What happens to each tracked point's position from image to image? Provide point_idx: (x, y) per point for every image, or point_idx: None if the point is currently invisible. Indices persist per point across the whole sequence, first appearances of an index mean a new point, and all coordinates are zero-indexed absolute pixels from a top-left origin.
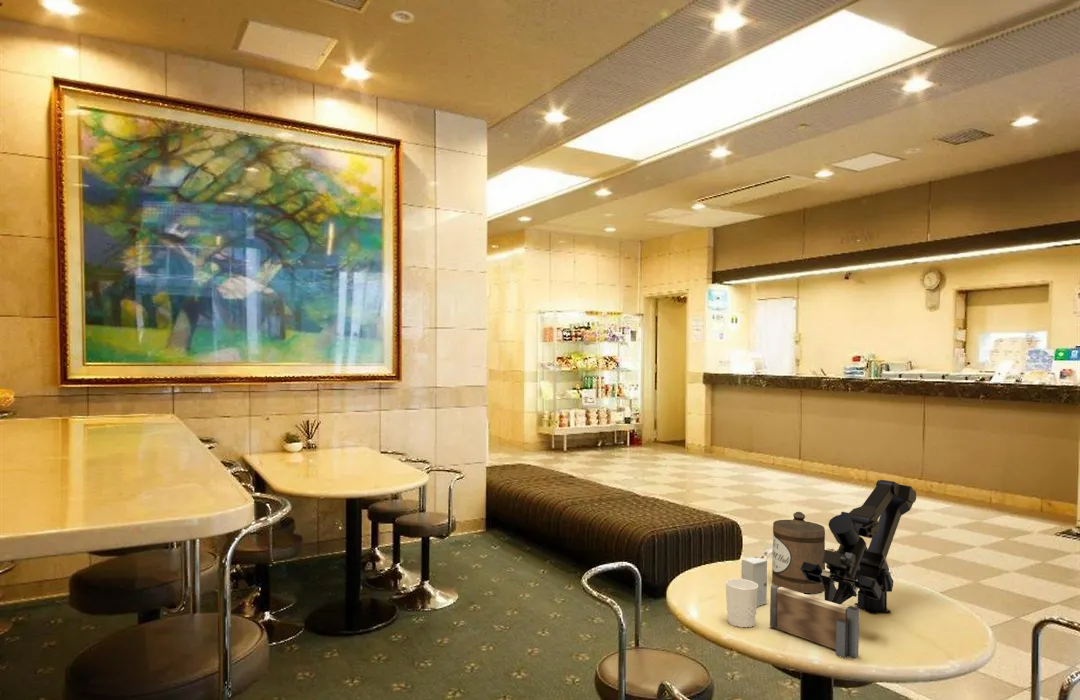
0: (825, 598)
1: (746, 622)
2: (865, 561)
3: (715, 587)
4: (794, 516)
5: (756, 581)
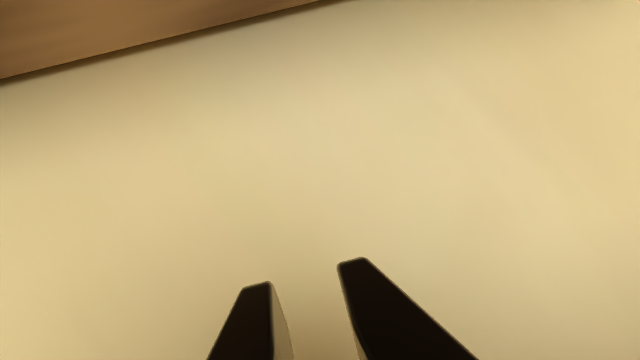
0: (435, 344)
1: None
2: None
3: None
4: None
5: None
